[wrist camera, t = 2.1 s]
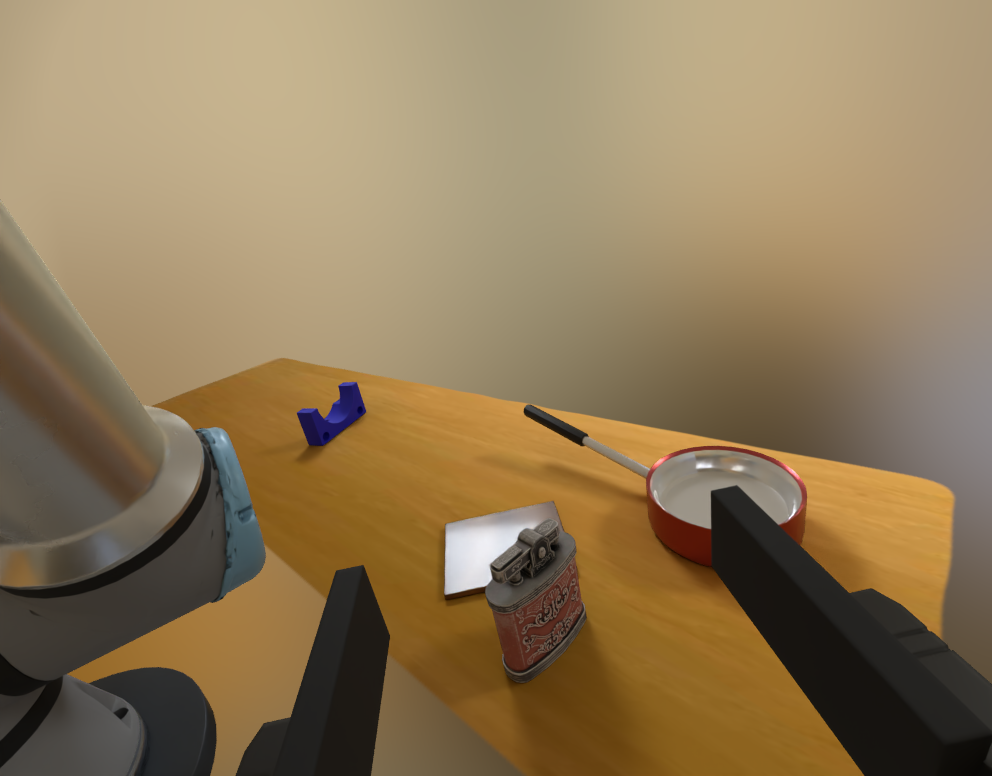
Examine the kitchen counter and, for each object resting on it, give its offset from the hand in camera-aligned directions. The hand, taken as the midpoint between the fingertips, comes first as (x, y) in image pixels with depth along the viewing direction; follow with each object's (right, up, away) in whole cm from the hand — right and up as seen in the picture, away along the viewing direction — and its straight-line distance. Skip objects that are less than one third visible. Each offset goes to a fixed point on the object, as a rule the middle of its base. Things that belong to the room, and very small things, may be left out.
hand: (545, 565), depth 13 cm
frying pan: (+13, -6, +37) cm, 40 cm away
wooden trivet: (0, -11, +33) cm, 35 cm away
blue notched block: (-29, -2, +69) cm, 75 cm away
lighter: (+3, -15, +23) cm, 27 cm away
